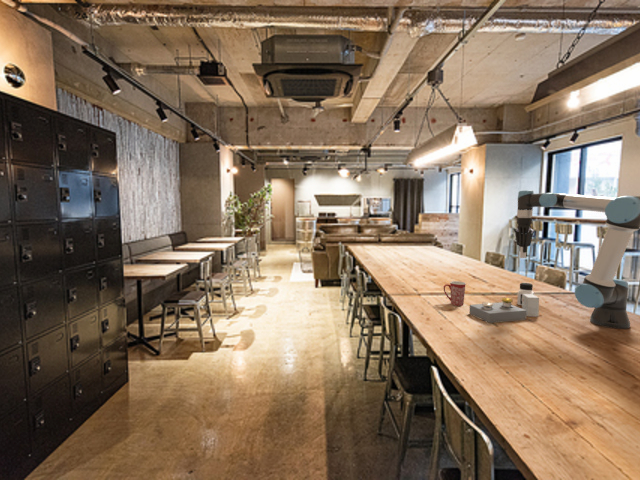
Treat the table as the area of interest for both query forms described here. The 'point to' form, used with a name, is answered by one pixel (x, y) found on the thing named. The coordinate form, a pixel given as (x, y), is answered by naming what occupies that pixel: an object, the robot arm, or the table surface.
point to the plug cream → (487, 305)
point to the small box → (530, 304)
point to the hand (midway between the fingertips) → (522, 257)
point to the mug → (456, 292)
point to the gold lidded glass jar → (507, 302)
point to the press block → (498, 313)
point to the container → (524, 291)
